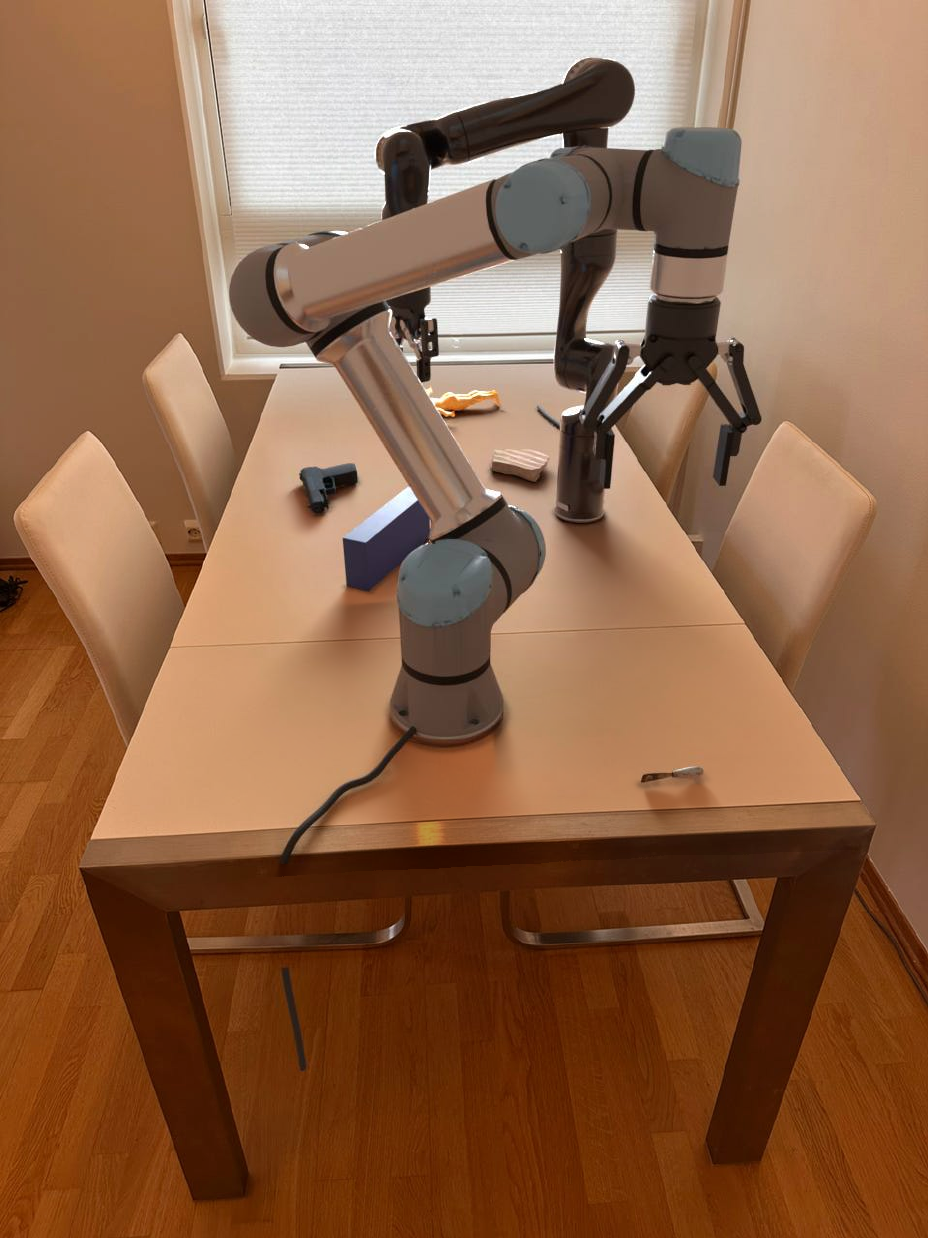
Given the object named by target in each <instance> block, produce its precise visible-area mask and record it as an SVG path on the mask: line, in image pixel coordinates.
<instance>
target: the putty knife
mask: <svg viewBox="0 0 928 1238" xmlns="http://www.w3.org/2000/svg"><path fill="white" fill-rule="evenodd" d="M704 772H705V771H704V768H702V767H701V766H697V765H695V766H688V767H683V768H679V769H675V770H673V771H671V772H653V773H652V772H651V773H650V772H649V773H644V774H642V776H641V779H640V783H642V784H645V783H648V782H653V781H659V780H665V779H668V778H673V779H674V778H675V779H693V778H694V779H695V778H700V777H702V776H703V775H704Z"/></svg>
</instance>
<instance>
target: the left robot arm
mask: <svg viewBox="0 0 928 1238" xmlns="http://www.w3.org/2000/svg"><path fill="white" fill-rule="evenodd" d="M742 141H743V140H742V138H741V136H740V133H738V131H736V130H735V129H732V128H727V127H711V126H701V127H697V126H696V127H695V126H683V127H681V126H680V127H672V128H670V129H668V130H667V132H666V133H665V134H664V139H663V144H662V145H661V148H655V149H648V150H647V149H629V148H615V147H614V148H613V147H607V148H596V147H592V146H585V145H584V146H581V147H563V146H562V147H558V148H556V149H554V151H553V152H551V154H550V156H549V158H547V157H544V158H540V159H537V160H533V161H530V162H527V163H525V164H523V165H521V166H519V168H517V169H515V170H514V171H512V172H508V173H507V174H504V175H502V176H500V177H498V178H493V179H490V180H487V181H485V182H482V183H479V184H477V185H474V186H471V187H468V188H466V189H463V190H460V191H457V192H455V193H453V194H450V195H447V196H444V197H441V198H439V199H436V200H434V201H431V202H427V204H425V205H422V206H420V207H417V208H414V209H412V210H409V211H406V212H404V213H401V214H398V215H395V216H393V217H390V218H387V219H385V220H382V219H381V220H379V221H377V222H374V223H371V224H369V225H365V226H363V227H361V228H357V229H355V230H353V231H349V232H347V231H342V230H331V231H328V230H327V231H326V230H324V231H315V232H312V233H309V234H307V235H306V236H303V237H298V238H293V239H291V240H287V241H283V242H280V243H275V244H269V245H266V246H262V247H259V248H257V249H255V250H254V251H251V252H250V253H248V254H246V256H244V257H243V258H242V259H241V261H239V263H238V264H237V266H236V267H235V268H234V271H233V273H232V275H231V278H230V282H229V287H228V300H229V304H230V308H231V312H232V314H233V316H234V318H235V320H236V323H238V325H239V327H240V328H241V329H242V330H243V331H244V333H246V334H247V336H249V337H250V338H252V339H253V340H255V341H256V342H258V343H261V344H263V345H265V346H269V347H274V348H288V347H294V346H297V345H301V344H304V343H305V344H306V345H307V347H308V349H309V350H310V351H311V353H312V355H313V356H314V357H315V360H316V361H317V362H319V363H323V364H328V365H331V366H332V367H334V368H335V369H336V371H337V372H338V374H339V376H340V377H341V379H342V381H343V382H344V383H345V386H346V387H347V389H348V390H349V392H350V394H351V395H352V397H353V398H354V400H355V402H356V403H357V405H358V407H359V408H360V410H361V411H362V413H363V414H364V416H365V418H366V419H367V421H368V422H369V424H370V426H371V427H372V429H373V430H374V432H375V434H376V435H377V437H378V438H379V440H380V442H381V443H382V445H383V446H384V448H385V450H386V451H387V453H388V455H389V456H390V458H391V460H392V461H393V462H394V464H395V466H396V468H397V470H398V471H399V472H400V474H401V475H402V476H403V479H404V480H405V482H406V483H407V485H408V487H410V488H411V490H412V491H413V493H414V495H415V496H416V498H417V499H418V501H419V503H420V504H421V506H422V507H423V509H424V511H425V512H426V514H427V515H428V517H429V519H430V532H429V537H428V540H429V541H430V542H427V543H425V544H424V543H423V544H421V545H420V546H419V547H418V548H417V549H415V550H414V551H412V552H411V553H410V554H409V555H408V556H407V557H406V558H405V560H404V561H402V562H401V563H400V567H399V570H398V577H397V587H396V601H397V604H398V616H399V617H398V618H399V633H400V634H399V637H400V639H399V640H400V655H401V667H400V669H399V672H398V675H397V678H396V681H395V684H394V687H393V690H392V693H391V696H390V703H389V706H390V718H391V721H392V724H393V725H394V727H395V728H396V729H397V731H398V732H399V733H400V734H402V736H401V737H400V738H399V739H398V740H397V741H396V743H394V745H393V746H392V747H391V748H390V749H389V751H388V752H387V753H386V754H385V755H384V757H383V758H382V759H381V761H379V763H378V764H377V765H376V766H375V768H374V769H373V770H371V771H370V772H369V773H367V774H366V775H364V776H362V777H359V778H355V779H352V780H349V781H347V782H345V783H343V784H341V785H340V786H339V787H338V788H336V789H335V790H334V791H333V792H332V793H331V795H330V796H329V797H328V799H326V800H325V802H323V804H322V805H321V806H319V807H318V808H317V809H316V810H315V811H314V812H313V813H312V814H311V815H309V816H308V817H307V818H306V819H305V820H304V821H303V822H302V823H300V824H299V826H298V827H297V828H296V829H295V831H294V832H292V833H293V834H292V835H291V836H290V838H289V840H288V841H287V843H286V845H285V847H284V849H283V851H282V854H281V856H280V859H279V864H281V865H285V864H286V863H288V862H289V861H290V859H291V855H292V853H293V851H294V849H295V847H296V845H297V844H298V842H299V840H300V839H301V837H302V836H303V835H304V834H305V833H306V831H308V829H309V828H310V827H311V826H313V825H314V824H315V823H316V822H318V820H320V819H321V818H322V817H323V816H324V815H325V814H326V813H327V812H328V811H329V810H330V809H331V808H332V807H333V806H334V804H335V803H336V802H337V801H338V799H339V798H341V796H343V795H344V794H345V793H346V792H348V791H350V790H352V789H354V788H357V787H361V786H364V785H367V784H368V783H371V782H372V781H373V780H375V779H376V778H377V777H378V776H379V775H381V773H383V771H384V770H385V769H386V768H387V766H388V765H389V764H390V762H391V761H392V760H393V758H394V757H395V756H396V755H397V754H398V753H399V752H400V751H401V749H402V748H403V747H404V746H405V745H406V744H407V743H408V742H409V741H410V740H411V741H413V742H415V743H417V744H420V745H421V744H422V745H425V746H430V747H437V748H454V747H455V748H457V747H463V746H467V745H471V744H473V743H476V742H480V741H481V740H483V739H485V738H486V737H488V736H489V735H491V734H492V733H493V732H494V731H495V730H496V729H498V727H499V726H500V724H501V722H502V720H503V717H504V696H503V693H502V690H501V687H500V685H499V682H498V679H497V677H496V674H495V672H494V668H493V666H492V664H491V654H492V653H491V651H492V649H491V648H492V647H491V645H492V641H491V640H492V630H493V626H494V625H495V623H496V622H497V621H498V620H499V619H500V618H501V617H502V616H503V615H504V614H505V613H506V612H507V611H508V609H510V607H512V605H513V604H515V602H516V601H517V600H518V599H519V598H520V597H521V596H522V594H524V593H526V592H527V591H528V590H529V589H530V588H531V587H532V586H533V584H534V583H535V581H536V579H537V577H538V576H539V574H540V573H541V571H542V569H543V567H544V564H545V560H546V556H547V555H546V553H547V549H546V548H547V545H546V541H545V536H544V534H543V531H542V528H541V527H540V525H539V524H538V523H537V521H536V519H535V518H534V517H532V515H531V514H530V513H528V511H526V510H522V509H519V507H517V506H515V505H510V504H508V502H507V500H506V499H505V497H504V495H503V494H502V493H501V492H500V491H496V490H492V489H488V488H486V486H484V485H483V482H481V481H482V480H481V479H480V478H479V476H478V474H477V472H476V471H475V469H474V468H473V466H472V465H471V463H470V461H469V459H468V458H467V456H466V454H465V453H464V451H463V450H462V447H461V446H460V444H459V443H458V441H457V440H456V438H455V436H454V435H453V433H452V432H451V429H450V428H449V427H448V425H447V423H446V421H445V419H444V418H443V417H442V414H440V413H439V411H438V410H437V408H436V407H435V405H434V403H433V402H432V400H431V398H432V397H430V394H429V395H428V393H427V392H426V390H427V389H426V388H425V387H424V385H423V382H422V383H421V382H420V380H419V378H418V377H417V372H416V371H415V370H414V368H413V367H412V365H411V363H410V362H409V360H408V359H407V357H406V355H405V354H404V351H403V352H402V350H401V348H400V347H399V345H398V343H397V342H396V340H395V338H394V337H393V335H392V334H391V332H390V323H391V318H392V311H391V309H390V308H389V306H388V304H387V303H386V300H389V299H392V298H395V297H398V296H402V295H405V294H408V293H411V292H414V291H418V290H421V289H424V288H427V287H434V286H437V285H439V284H443V283H446V282H450V281H453V280H455V279H459V278H462V277H466V276H469V275H473V274H474V273H478V272H481V271H485V270H488V269H491V268H494V267H498V266H502V265H505V264H507V263H511V262H515V261H518V260H520V259H521V260H522V259H526V258H529V257H532V256H536V255H544V254H551V253H553V252H555V251H558V250H561V248H564V247H566V246H568V245H569V244H570V243H571V242H574V241H576V240H578V239H580V238H584V237H586V236H589V235H591V234H594V233H596V232H598V231H601V230H603V229H617V230H623V231H639V232H653V233H654V234H653V235H654V241H653V249H652V250H653V254H652V261H651V262H652V263H651V271H650V280H649V287H648V288H649V290H650V291H651V292H652V293H653V294H651V295H650V297H648V299H647V307H646V318H645V328H644V336H643V339H642V341H641V343H640V344H637V343H628V342H627V343H626V342H625V341H624V340H623V339H618V340H616V341H615V342H614V344H613V345H614V349H613V354H612V359H611V361H610V363H609V365H608V367H607V368H606V370H605V372H604V374H603V375H602V377H601V379H600V381H599V382H598V384H597V386H596V388H595V389H594V391H593V393H592V395H591V396H590V398H589V400H588V402H587V403H586V405H585V407H584V409H583V410H582V412H581V414H580V416H579V418H580V421H581V423H582V425H583V427H584V428H585V429H592V430H594V431H595V435H594V448H593V452H594V455H595V457H596V459H597V460H601V469H600V482H601V484H602V486H603V488H604V489H605V490H610V489H611V484H612V473H613V461H614V451H615V450H614V449H615V440H616V439H615V438H616V434H615V432H614V431H613V429H612V428H613V427H614V426H615V425H616V424H617V423H618V422H619V421H620V420H621V419H622V418H623V416H624V415H625V414H626V413H628V411H629V410H630V409H631V408H632V407H633V406H634V405H635V404H636V403H637V402H638V401H639V400H640V399H641V398H642V396H643V395H644V394H645V393H646V392H648V391H650V390H652V388H654V386H655V385H656V384H657V383H658V384H660V385H662V386H672V385H677V384H678V385H682V386H691V385H692V384H693V383H695V382H697V381H698V382H699V383H700V384H701V386H702V387H703V389H704V390H705V391H706V393H707V394H708V396H709V397H710V398H711V400H712V401H713V403H714V404H715V405H716V407H717V408H718V410H719V411H720V412H721V414H722V415H723V417H724V418H725V419H726V420H727V422H728V423H721V424H720V428H719V432H718V433H719V434H718V439H717V446H716V448H717V449H716V453H715V460H714V466H713V472H712V478H713V479H714V481H715V482H716V484H717V485H718V486H719V487H726V486H727V482H728V481H727V480H728V474H729V469H730V468H729V467H730V462H731V457H737V456H738V455H739V453H740V447H741V442H742V436H743V434H744V433H746V432H747V430H748V427H749V426H758V425H760V424H761V423H762V415H761V413H760V409H759V406H758V403H757V400H756V397H755V394H754V391H753V389H752V385H751V381H750V379H749V376H748V373H747V371H746V367H745V364H744V362H745V361H744V360H745V359H744V358H745V346H744V344H743V343H741V341H739V340H738V339H737V338H735V337H730V338H729V339H727V341H721V342H717V339H716V338H717V332H718V326H719V318H720V313H721V305H722V303H721V302H722V301H721V300H720V298H719V296H720V295H721V294H722V293H723V292H724V286H725V278H726V277H725V276H726V268H727V261H728V254H729V248H730V247H729V246H730V238H731V233H732V226H733V220H734V213H735V207H736V200H737V195H738V190H739V186H740V178H739V177H740V165H741V156H742V144H743V143H742ZM718 355H719V356H720V358H721V360H722V361H723V362H724V363H726V365H727V369H728V371H729V374H730V378H731V380H732V383H733V386H734V389H735V393H736V395H737V398H738V400H739V403H740V407H741V410H742V412H740V413H738V412H737V410H736V408H734V406H733V404H732V403H731V402H730V400H729V399H728V398H727V396H726V395H725V393H724V392H723V390H722V389H721V388H720V386H719V385H718V383H717V382H716V381H715V379H714V377H713V376H712V375H711V373H710V372H709V370H708V368H709V366H711V364H712V363H713V362H714V361H715V359H716V358H717V356H718ZM637 357H639V358H640V359H641V361H642V362H643V365H642V366H641V367H640V368H639V369H638V370H637V371H636V372H635V375H634V377H633V378H632V379H631V380H630V381H629V382H628V384H627V385H626V386H624V388H623V389H622V390H621V391H620V392H619V393H618V394H617V396H616V398H615V399H614V400H613V401H612V402H611V403H610V404H609V405H608V406H607V407H606V409H605V410H604V411H603V412H602V413H601V411H602V410H603V408H604V406H605V404H606V403H607V401H608V399H609V398H610V396H611V394H612V392H613V391H614V389H615V387H616V386H617V384H618V385H619V382H620V380H621V379H622V377H623V375H624V374H625V371H626V369H627V366H629V365H631V364H632V363H633V362H634V360H635V359H636V358H637ZM600 413H601V414H600ZM280 971H281V977H282V978H281V980H282V984H283V988H284V989H283V990H284V994H285V999H286V1004H287V1009H288V1013H289V1018H290V1022H291V1023H290V1024H291V1027H292V1032H293V1037H294V1043H295V1049H296V1054H297V1061H298V1068H299V1071H301V1072H305V1071H306V1070H307V1060H306V1053H305V1048H304V1042H303V1035H302V1031H301V1024H300V1020H299V1016H298V1012H297V1011H298V1010H297V1006H296V1000H295V997H294V990H293V986H292V985H293V984H292V979H291V974H290V967H289V966H287V967H281V968H280Z"/></svg>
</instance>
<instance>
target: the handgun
mask: <svg viewBox="0 0 928 1238" xmlns="http://www.w3.org/2000/svg"><path fill="white" fill-rule="evenodd" d="M298 475H299V480H300V481H301V482H302V485H303V488H304V493H305V495H306V499H307V500H308V505H306V508H308V509H310V510H311V512H312V514H314V515H322V514H324V513H325V508H326V509H327V511H328V510H329V509H330V507H329V506H330V505H329V498H328V496H332V495H335V494H336V492H337V491H336V488H340V487H345V486H349V485H353V484H358V482H359V477H358V471H357V465H356V463H353V462H352V463H351V462H347V463H342V464H338V465H333V466H330V467H326V468H320V467H318V466H308V467H303V468H302V469H301V470H300V472H298Z"/></svg>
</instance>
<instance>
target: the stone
mask: <svg viewBox="0 0 928 1238" xmlns="http://www.w3.org/2000/svg"><path fill="white" fill-rule="evenodd" d="M549 461H550V456H549V455H547V454H545V453H543V451H542V450H540V451H537V450H533V449H525V448H524V449H523V448H521V449H510V448H502V449H494V450H493V452H492V459H491V465H490V469H489V470H490V471H492V472H497V473H501V474H504V475H513V476H517V477H520V478H522V479H524V480H527V481H529V482H533V483H534V482H537V480H539V478H540V476H541V472H542V471H544V469H545V468H547V466H548V463H549Z"/></svg>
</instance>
